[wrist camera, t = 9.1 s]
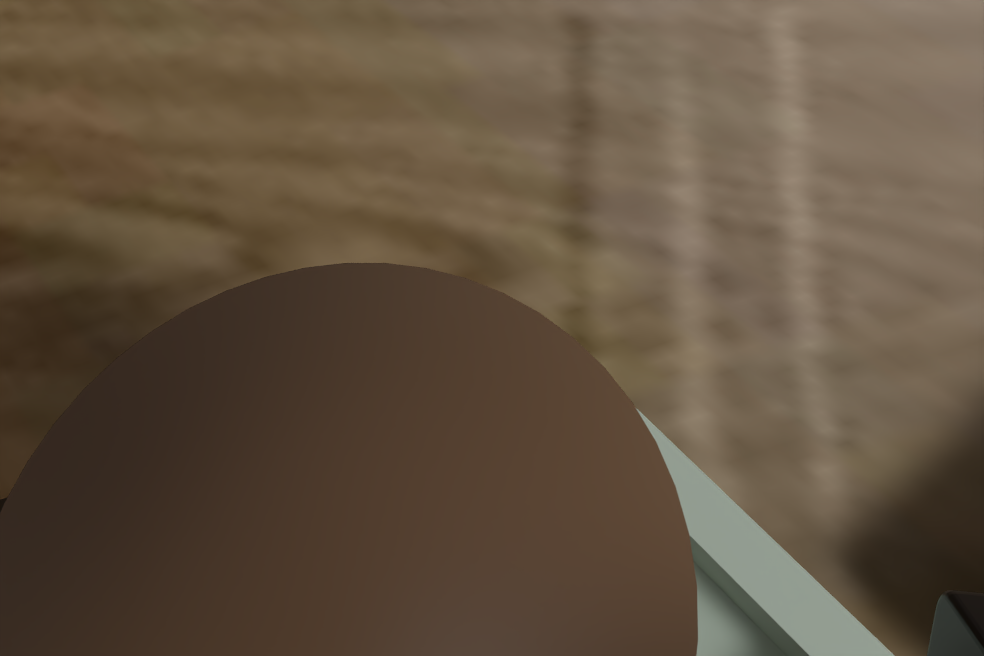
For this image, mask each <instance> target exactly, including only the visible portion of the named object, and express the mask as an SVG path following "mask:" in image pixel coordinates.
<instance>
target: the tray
mask: <svg viewBox="0 0 984 656" xmlns="http://www.w3.org/2000/svg"><path fill="white" fill-rule="evenodd" d="M636 409H637V408H636ZM637 411H638V412H639V414H640V416H641V417H642V419H643V421H644V422H645V424H646V426H647V427H648V429H649V431H650V432H651V434H652V436H653V437H654V439H655V441H656V442H657V445H658V447H659V449H660V452H661V454H662V456H663V459H664V461H665V463H666V465H667V468H668V470H669V472H670V475H671V477H672V479H673V482H674V484H675V486H676V490H677V493H678V497H679V500H680V504H681V507H682V511H683V514H684V518H685V521H686V524H687V528H688V531H689V536H690V542H691V549H692V556H693V562H694V569H695V576H696V582H697V611H698V645H697V654H696V656H894V655H893V654H892V653H891V652H890V651H889V650H888V649H887V648H886V647H885V646H884V645H883V644H882V643H881V642H880V641H879V640H878V639H877V638H876V637H874V636H873V635H872V634H871V633H870V632H869V631H868V630H867V629H866V628H865V627H864V626H863V625H862V624H861V623H860V622H859V621H858V620H857V619H856V618H855V617H854V616H853V615H852V614H851V613H849V612H848V611H847V610H846V609H845V608H844V607H843V606H842V605H841V604H840V603H839V602H838V601H837V600H836V599H835V598H834V597H833V596H832V595H831V594H830V593H829V592H828V591H827V590H825V589H824V588H823V587H822V586H821V585H820V584H819V583H818V582H817V581H816V580H815V579H814V578H813V577H812V576H811V575H810V574H809V573H808V572H807V571H806V570H805V569H804V568H803V567H801V566H800V565H799V564H798V563H797V562H796V561H795V560H794V559H793V558H792V557H791V556H790V555H789V554H788V553H787V552H786V551H785V550H784V549H783V548H782V547H781V546H780V545H779V544H777V543H776V542H775V541H774V540H773V539H772V538H771V537H770V536H769V535H768V534H767V533H766V532H765V531H764V530H763V529H762V528H761V527H760V526H759V525H758V524H757V523H756V522H755V521H753V520H752V519H751V518H750V517H749V516H748V515H747V514H746V513H745V512H744V511H743V510H742V509H741V508H740V507H739V506H738V505H737V504H736V503H735V502H734V501H733V500H732V499H731V498H729V497H728V496H727V495H726V494H725V493H724V492H723V491H722V490H721V489H720V488H719V487H718V486H717V485H716V484H715V483H714V482H713V481H712V480H711V479H710V478H709V477H708V476H707V475H705V474H704V473H703V472H702V471H701V470H700V469H699V468H698V467H697V466H696V465H695V464H694V463H693V462H692V461H691V460H690V459H689V458H688V457H687V456H686V455H685V454H684V453H683V452H682V451H680V450H679V449H678V448H677V447H676V446H675V445H674V444H673V443H672V442H671V441H670V440H669V439H668V438H667V437H666V436H665V435H664V434H663V433H662V432H661V431H660V430H659V429H658V428H656V427H655V426H654V425H653V424H652V423H651V422H650V421H649V420H648V419H647V418H646V417H645V416H644V415H643V414H642V413H641V412H640V411H639V410H638V409H637Z"/></svg>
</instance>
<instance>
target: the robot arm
mask: <svg viewBox="0 0 984 656" xmlns="http://www.w3.org/2000/svg"><path fill="white" fill-rule="evenodd" d="M6 500H7V498H4V499H1V500H0V513H1V510H2V508H3V506H4V503H5V501H6ZM927 656H984V593H975V592H965V591H954V590H948V591H946V592H944V593H943V594H942V595H941V596H940V598H939V600H938V602H937V606H936V611H935V616H934V622H933V627H932V632H931V638H930V643H929V648H928V653H927Z"/></svg>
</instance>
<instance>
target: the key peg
mask: <svg viewBox="0 0 984 656" xmlns="http://www.w3.org/2000/svg"><path fill="white" fill-rule="evenodd" d="M697 645H698V611H697V582H696V576H695V569H694V562H693V556H692V549H691V542H690V536H689V531H688V528H687V524H686V521H685V518H684V514H683V511H682V507H681V504H680V500H679V497H678V493H677V490H676V486H675V484H674V482H673V479H672V477H671V475H670V472H669V470H668V468H667V465H666V463H665V461H664V459H663V456H662V454H661V452H660V449H659V447H658V445H657V442H656V441H655V439H654V437H653V436H652V434H651V432H650V431H649V429H648V427H647V426H646V424H645V422H644V421H643V419H642V417H641V416H640V414H639V412H638V411H637V409H636V407H635V406H634V404H633V402H632V401H631V400H630V399H629V397H628V396H627V395H626V394H625V392H624V391H623V390H622V389H621V387H620V386H619V385H618V384H617V382H616V381H615V380H614V379H613V377H612V376H611V375H610V374H609V372H608V371H607V370H606V369H605V367H603V366H602V365H601V364H600V363H599V362H598V361H597V360H596V359H595V358H594V357H593V356H592V355H591V354H590V353H589V352H588V351H587V350H586V349H585V348H584V347H583V346H582V345H581V344H579V343H578V342H577V341H576V340H575V339H574V338H573V337H572V336H570V335H569V334H568V333H566V332H565V331H564V330H562V329H561V328H560V327H558V326H557V325H555V324H554V323H553V322H551V321H550V320H549V319H547V318H546V317H544V316H543V315H542V314H540V313H539V312H537V311H535V310H533V309H532V308H530V307H528V306H526V305H524V304H522V303H521V302H519V301H517V300H515V299H513V298H512V297H510V296H508V295H506V294H504V293H502V292H500V291H497V290H494V289H492V288H489V287H487V286H484V285H482V284H479V283H477V282H474V281H471V280H469V279H466V278H463V277H459V276H455V275H451V274H447V273H443V272H439V271H435V270H431V269H427V268H420V267H412V266H404V265H396V264H388V263H342V264H334V265H325V266H316V267H308V268H302V269H298V270H293V271H289V272H285V273H281V274H276V275H272V276H268V277H264V278H261V279H258V280H255V281H253V282H250V283H247V284H244V285H241V286H238V287H236V288H233V289H230V290H227V291H225V292H223V293H220V294H218V295H216V296H214V297H212V298H210V299H208V300H206V301H204V302H202V303H200V304H197V305H195V306H193V307H191V308H189V309H187V310H186V311H184V312H182V313H181V314H179V315H177V316H176V317H174V318H173V319H171V320H169V321H168V322H166V323H164V324H163V325H161V326H160V327H158V328H156V329H155V330H153V331H151V332H150V333H149V334H147V335H146V336H145V337H144V338H142V339H141V340H140V341H138V342H137V343H136V344H134V345H133V346H132V347H131V348H129V349H128V350H127V351H125V352H124V353H123V354H121V355H120V356H119V357H118V358H116V359H115V360H114V361H113V362H112V363H111V364H110V365H109V366H108V367H107V368H106V369H105V370H104V371H103V372H101V373H100V374H99V375H98V376H97V377H96V378H95V379H94V380H93V381H92V382H91V383H90V384H89V385H88V386H87V387H86V388H85V389H84V390H83V391H82V392H81V393H80V394H79V395H78V397H77V398H76V399H75V400H74V401H73V402H72V404H71V405H70V406H69V407H68V408H67V409H66V410H65V412H64V413H63V414H62V415H61V416H60V417H59V419H58V420H57V421H56V422H55V423H54V425H53V426H52V427H51V429H50V430H49V432H48V433H47V435H46V436H45V437H44V439H43V440H42V442H41V443H40V445H39V446H38V447H37V449H36V450H35V452H34V453H33V455H32V456H31V457H30V459H29V460H28V462H27V464H26V465H25V467H24V469H23V471H22V473H21V474H20V476H19V478H18V480H17V482H16V483H15V485H14V487H13V489H12V491H11V492H10V494H9V496H8V498H7V500H6V501H5V503H4V506H3V508H2V510H1V513H0V656H696V654H697Z"/></svg>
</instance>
